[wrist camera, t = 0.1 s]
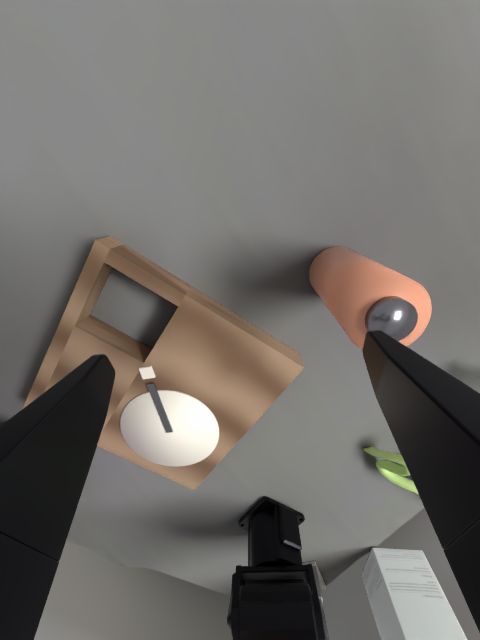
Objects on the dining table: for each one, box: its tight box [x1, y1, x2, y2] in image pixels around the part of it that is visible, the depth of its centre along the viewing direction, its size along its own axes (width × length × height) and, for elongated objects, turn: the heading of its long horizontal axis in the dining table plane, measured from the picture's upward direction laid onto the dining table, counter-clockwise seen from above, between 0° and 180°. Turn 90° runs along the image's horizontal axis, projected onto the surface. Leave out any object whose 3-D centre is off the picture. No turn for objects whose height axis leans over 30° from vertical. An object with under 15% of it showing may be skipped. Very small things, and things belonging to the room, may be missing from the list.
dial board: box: [23, 236, 304, 490], centre depth 27 cm, size 20×20×3 cm
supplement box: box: [362, 548, 467, 640], centre depth 35 cm, size 7×7×13 cm
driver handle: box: [309, 246, 432, 350], centre depth 19 cm, size 4×4×11 cm
